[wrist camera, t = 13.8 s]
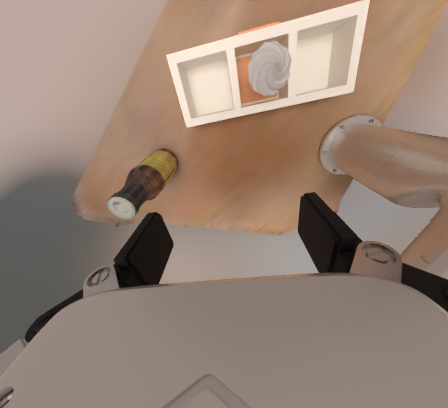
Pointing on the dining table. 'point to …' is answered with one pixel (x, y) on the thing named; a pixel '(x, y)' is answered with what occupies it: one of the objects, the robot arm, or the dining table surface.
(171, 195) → the dining table surface
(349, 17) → the compartment tray
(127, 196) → the sauce bottle
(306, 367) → the robot arm
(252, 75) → the ice cream cone
